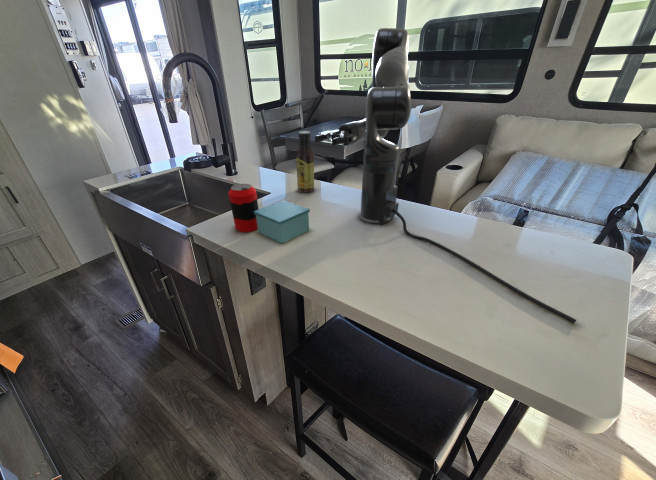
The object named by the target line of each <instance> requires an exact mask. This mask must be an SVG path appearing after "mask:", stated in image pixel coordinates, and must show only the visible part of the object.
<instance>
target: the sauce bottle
mask: <svg viewBox="0 0 656 480" xmlns="http://www.w3.org/2000/svg"><path fill="white" fill-rule="evenodd" d="M297 137H298V149H297V152H296V157H295V161H296V178H297V179H296V182H297V185H296V186H297V191H298V192H299V193H300V192H301V193H303V194H305V193H311V192H313V191H314V189H315V161H314V159H315V157H314V151H313V150H312V148H311V131H309V130H302V131H301V130H300V131H299V132H298V136H297Z"/></svg>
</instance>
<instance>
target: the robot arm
mask: <svg viewBox="0 0 656 480" xmlns="http://www.w3.org/2000/svg"><path fill="white" fill-rule="evenodd" d="M373 41H374V42H373V49H372V68H371V69H372V73H371V77H372V78H371V79H372V87H371V88H370V89H368V92H367V95H366V100H365V117H364V118H363V119H361V120H357V121H351V122H347V123H342V124H341V125H340V126H339V127H338V129H335V130H330V129H329V130H326V131H320V132H318V135H317V134H316V135H315V136H314V143H321V142H328V143H331V145H332V146H333V147H334V146H338V145H342V146H344V147H345V146H347V147H348V146H350V145H353V144H357V143H359V142H361V141H364V148H363V149H364V150H363V167H362V183H361V196H360V213H359V218H360V220H361V221H363V222H365V223H370V224H379V225H385V224H386V223H387V222H390V221H391V220H393V219H394V218H395V215H396V216H397V217H398V218H399V219H400V220H401V222H402V228H403V232H404V234H406V235H407V236H408V237H410V238H413V239H416V240H420V241H424V242H426V243H428V244H431V245H433V246H435V247H437V248H440V249H441V250H444V251H445V252H447V253H449V254H451V255H452V256H454V257H456V258H458V259H460V261H463V262H464V263H466V264H468V265H470V266H471V267H473V268H475V269H476V270H478V271H480V272H481V273H483V274H484V275H486V276H488V277H489V278H491V280H494V281H495V282H496V283H497V282H498V283H499V284H501V285H502V286H504V287H506V288H507V289H509V290H511V291H512V292H513V293H516V294H517V295H519V296H521V297H523V298H524V299H526V300H528V301H530V302H531V303H533V304H535V305H537V306H538V307H540V308H542V309H544V310H546V311H548V312H550V313H552V314H554V315H556V316H558V317H560V318H561V319H564V320H566V321H567V322H570V323H572V324H575V323H576V322H577V319H576V318H574V317H572V316H570V315H569V314H566V313H564V312H562V311H560V310H559V309H556V308H554V307H552V306H550V305H548V304H546V303H544V302H542V301H541V300H539V299H537V298H535V297H533V296H531V295H529V294H528V293H526V292H524V291H523V290H520V289H519V288H517V287H515V286H514V285H512V284H510V283H509V282H507V281H506V280H503V279H502V278H500V277H499V276H497V275H495V274H494V273H492V272H490V271H489V270H487V269H485V268H484V267H482V266H481V265H479V264H477V263H475V262H474V261H472V260H470V259H469V258H466V257H465V256H464V255H462V254H460V253H458V252H456V251H454V250H452V249H450V248H448V247H447V246H444V245H442V244H441V243H439V242H437V241H434V240H432V239H430V238H427V237H424V236H420V235H415V234H413V233H411V232H409V230H408V229H407V222H406V219H405V218H404V216H403V215H402V214H401V213H400V212H399V204H400V203H399V202H397V197H398V188H399V187H398V186H397V185H396V181H397V173H398V165H399V157H400V147H399V145H397V144H396V143H393V142H391V141H388V140H386V139H384V138H385V137H386V136H387V134H388V133H389V131H391V130H400V129H403V128H404V127H406V125H407V123H408V122H409V121H410V117H411V111H412V94H411V89H410V85H409V78H410V77H409V75H410V73H409V70H410V69H409V67H410V66H409V57H408V55H409V48H410V35H409V31H408V30H407V29H405V28H401V27H399V28H398V27H397V28H395V27H393V28H392V27H382V28H378V30H377V31H376V32H375V36H374V39H373Z"/></svg>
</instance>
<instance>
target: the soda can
mask: <svg viewBox="0 0 656 480" xmlns="http://www.w3.org/2000/svg"><path fill="white" fill-rule="evenodd" d="M257 195H258V194H257V190H256V188H254V187H253V186H252V184H250V183H238V184H234V185H232V186H231V187H230V189H229V191H228V198H229V203H230V208H231V213H232V218H233V222H234V228H235V230H236V231H238V232H240V233H246V234H247V233H252V232H256V231H258V226H257V220H256V215H255V214H254V211H256V210H259V209H260V208H259V203H258V202H259V201H258V196H257Z"/></svg>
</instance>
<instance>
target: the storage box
mask: <svg viewBox="0 0 656 480" xmlns="http://www.w3.org/2000/svg"><path fill="white" fill-rule="evenodd" d="M309 213H311V209H310V208H307V207H305V206H302V205H299V204H296V203H293V202H290V201H287V200H285V199H282V200H280V201H277V202H275V203H272V204H270V205H266V206H264V207H261V208H259V210H256V211H254V214H255V215H256V220H257V226H258V230H257V232H258V233H259V234H261V235H262V236H265V237H268V238H269V239H271V240H274V241H276V242H278V243H280V244H284V243H287V242H288V241H291V240H293V239H294V238H297V237H298V236H301V235H303V234H306V232H310V219H309Z"/></svg>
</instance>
